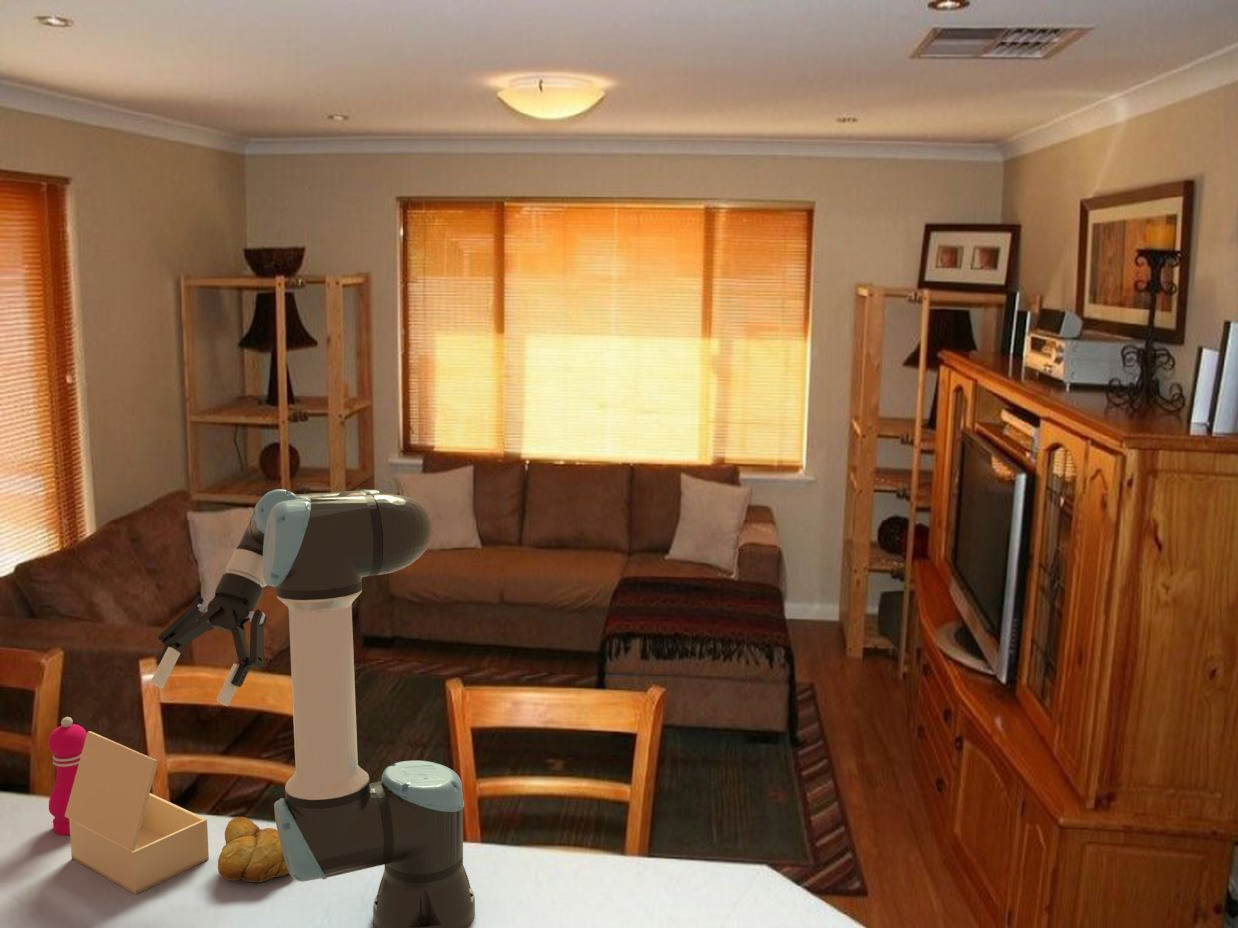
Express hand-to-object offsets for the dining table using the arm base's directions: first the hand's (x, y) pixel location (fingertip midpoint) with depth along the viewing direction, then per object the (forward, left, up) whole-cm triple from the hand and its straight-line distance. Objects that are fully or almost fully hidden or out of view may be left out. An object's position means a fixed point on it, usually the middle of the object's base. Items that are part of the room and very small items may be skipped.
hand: (188, 694), depth 181 cm
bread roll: (-18, +1, -26) cm, 32 cm away
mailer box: (+1, +10, -26) cm, 27 cm away
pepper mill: (+20, +10, -26) cm, 34 cm away
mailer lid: (+1, +14, -12) cm, 18 cm away
